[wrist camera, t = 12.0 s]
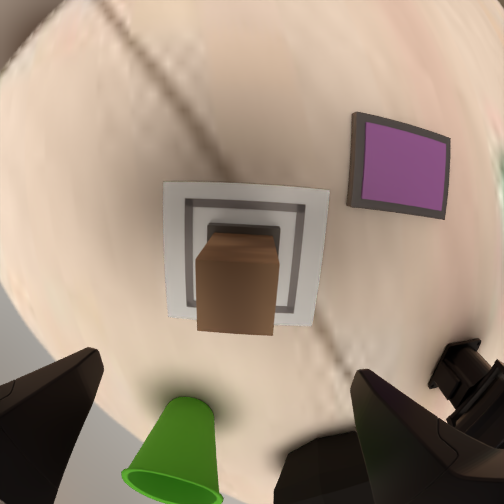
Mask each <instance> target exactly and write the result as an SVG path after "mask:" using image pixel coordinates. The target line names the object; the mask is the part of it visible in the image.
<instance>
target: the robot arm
mask: <svg viewBox="0 0 504 504" xmlns="http://www.w3.org/2000/svg"><path fill="white" fill-rule="evenodd" d="M480 344H481V340H480V339H474V340H469V341H464V342H458V343H453V344H449V345H448V346H447V347H446V349H445V351H444V353H443V356H442V358H441V360H440V362H439V364H438V366H437V368H436V371H435V373H434V375H433V377H432V379H431V380H430V382H429V384H428V387H429V389H433V388H437V387H439V389H440V390H441V392H442V393H443V395H444V396H445V397H446V399H447V400H449V401H450V402H451V403H452V405H453V406H454V408H455V409H456V410H455V411H454V412H453V413H452V414H451V415H450V416H449V417H448V418H447V419H446V420H447V423H448V424H447V423H446V422H444V421H443V420H441V419H440V418H438V417H437V416H435V415H434V414H432V413H431V412H430V411H428V410H427V409H425V408H424V407H422V406H421V405H419V404H418V403H416V402H415V401H414V400H412V399H411V398H409V397H408V396H406V395H405V394H404V393H402V392H401V391H399V390H398V389H396V388H395V387H394V386H392V385H391V384H389V383H388V382H387V381H385V380H384V379H382V378H381V377H380V376H378V375H377V374H375V373H374V372H373V371H371V370H370V369H359V370H357V372H356V374H355V376H354V379H353V382H352V385H351V388H350V393H351V399H352V406H353V412H354V419H355V425H356V430H357V434H358V438H359V441H360V445H361V449H362V452H363V456H364V460H365V464H366V468H367V472H368V476H369V480H370V484H371V489H372V493H373V497H374V502H375V504H504V363H502V362H501V361H499V360H498V359H497V360H496V361H495V364H494V365H493V366H492V367H491V366H490V365H489V364H488V362H487V361H486V360H485V359H484V358H483V357H482V356H481V355H480V354H479V353H478V352H477V350H478V348H479V346H480ZM103 372H104V366H103V363H102V359H101V356H100V353H99V351H98V350H97V349H95V348H90V347H87V348H85V349H83V350H80V351H78V352H76V353H74V354H72V355H69V356H67V357H65V358H63V359H60V360H58V361H56V362H54V363H52V364H49V365H47V366H45V367H42V368H40V369H38V370H36V371H34V372H32V373H29V374H27V375H24V376H22V377H20V378H17V379H16V380H13V381H10V382H8V383H6V384H3V385H1V386H0V504H54V501H55V498H56V495H57V491H58V488H59V485H60V482H61V480H62V477H63V474H64V471H65V469H66V466H67V463H68V461H69V458H70V456H71V453H72V451H73V448H74V446H75V443H76V441H77V438H78V436H79V434H80V431H81V429H82V427H83V424H84V422H85V420H86V418H87V416H88V413H89V411H90V409H91V407H92V404H93V401H94V399H95V396H96V393H97V390H98V387H99V384H100V381H101V378H102V375H103Z"/></svg>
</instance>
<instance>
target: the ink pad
mask: <svg viewBox="0 0 504 504" xmlns="http://www.w3.org/2000/svg"><path fill="white" fill-rule="evenodd" d="M449 172H450V138H448V137H446V136H443V135H440V134H437V133H434V132H431V131H428V130H425V129H422V128H419V127H416V126H412V125H409V124H406V123H402V122H398V121H395V120H391V119H387V118H383V117H379V116H375V115H370V114H366V113H361V112H355V113H353V114H352V135H351V157H350V173H349V185H348V197H347V206H350V207H356V208H365V209H373V210H381V211H389V212H396V213H403V214H410V215H417V216H424V217H430V218H436V219H442V220H445V213H446V205H447V196H448V186H449Z"/></svg>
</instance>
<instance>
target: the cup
mask: <svg viewBox="0 0 504 504" xmlns="http://www.w3.org/2000/svg"><path fill="white" fill-rule="evenodd" d="M121 473H122V479H123V480H124V482H125V483H126V484H127V485H129V486H130V487H131V488H132V489H134V490H135V491H137V492H139V493H141V494H143V495H145V496H147V497H149V498H152V499H154V500H156V501H159V502H162V503H165V504H221V503H222V502H223V497H222V495H221V494H220V493H219V485H218V473H217V460H216V445H215V428H214V415H213V412H212V410H211V409H210V407H209V406H208V405H207V404H206V403H204V402H202V401H200V400H198V399H195V398H191V397H178V398H175V399H173V400H172V401H171V402H169V403H168V405H167V406H166V408H165V410H164V411H163V413H162V414H161V416H160V418H159V419H158V421H157V423H156V424H155V426H154V427H153V429H152V431H151V432H150V434H149V435H148V437H147V439H146V440H145V442H144V444H143V445H142V447H141V448H140V450H139V452H138V453H137V455H136V456H135V458H134V460H133V461H132V463H131V464H130V466H129V468H127V469H124V470H123V471H122V472H121Z"/></svg>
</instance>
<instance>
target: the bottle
mask: <svg viewBox="0 0 504 504" xmlns="http://www.w3.org/2000/svg"><path fill="white" fill-rule="evenodd" d="M274 504H375V502H374V497H373V493H372V489H371V484H370V480H369V476H368V472H367V468H366V464H365V460H364V456H363V452H362V449H361V445H360V441H359V438H358V434H357V433H356V432H350V433H345V434H340V435H334V436H328V437H322V438H316V439H315V440H313V441H311V442H310V443H308V444H306V445H304V446H303V447H301V448H299V449H297V450H295V451H293V452H292V453H290V454H288V456H287V459H286V462H285V464H284V467H283V469H282V472H281V474H280V477H279V479H278V482H277V484H276V487H275V489H274Z"/></svg>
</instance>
